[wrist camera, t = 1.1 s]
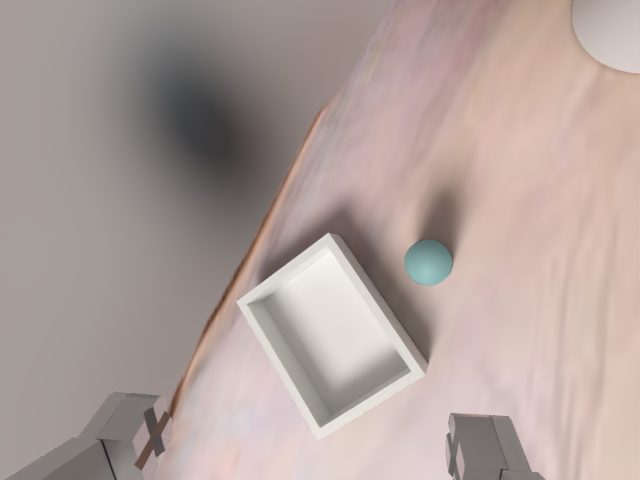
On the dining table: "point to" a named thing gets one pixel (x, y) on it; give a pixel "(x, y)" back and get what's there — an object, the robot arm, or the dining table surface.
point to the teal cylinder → (428, 262)
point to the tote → (331, 336)
